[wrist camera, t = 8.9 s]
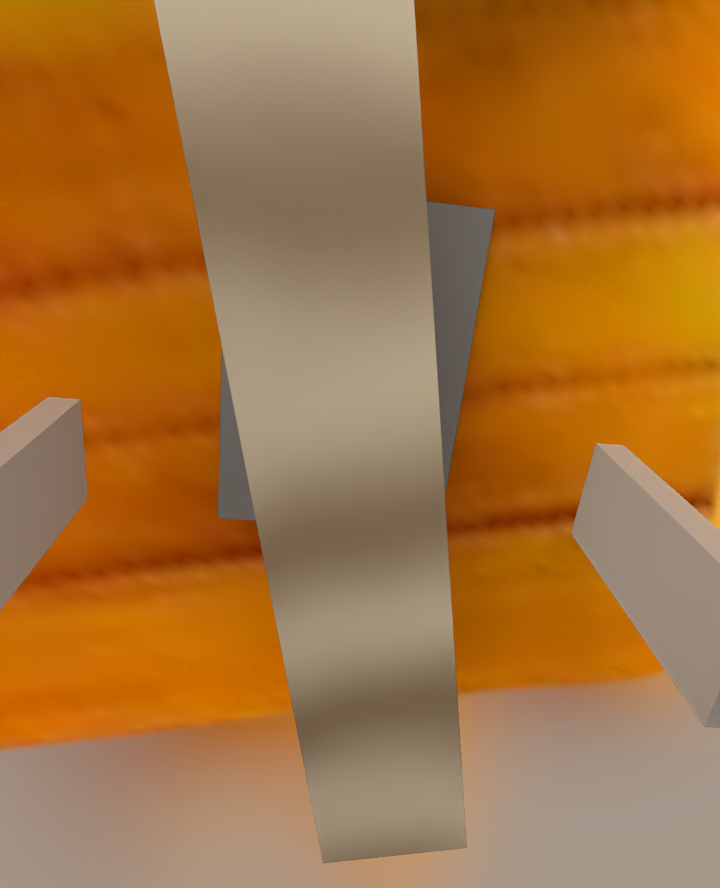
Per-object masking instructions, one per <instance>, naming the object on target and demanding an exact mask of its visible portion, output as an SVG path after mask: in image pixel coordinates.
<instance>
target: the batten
mask: <svg viewBox="0 0 720 888" xmlns="http://www.w3.org/2000/svg"><path fill="white" fill-rule="evenodd" d="M154 3H155V8H156V13H157V18H158V23H159V28H160V33H161V38H162V43H163V49H164V54H165V59H166V64H167V69H168V74H169V79H170V84H171V89H172V94H173V100H174V105H175V110H176V115H177V120H178V125H179V130H180V135H181V140H182V145H183V151H184V156H185V161H186V166H187V171H188V176H189V181H190V186H191V191H192V196H193V202H194V207H195V212H196V217H197V222H198V227H199V232H200V237H201V242H202V247H203V253H204V258H205V263H206V268H207V273H208V278H209V283H210V288H211V293H212V298H213V304H214V309H215V314H216V319H217V324H218V329H219V334H220V339H221V344H222V349H223V355H224V360H225V365H226V370H227V375H228V380H229V385H230V390H231V395H232V401H233V406H234V411H235V416H236V421H237V426H238V431H239V436H240V441H241V446H242V452H243V457H244V462H245V467H246V472H247V477H248V482H249V487H250V492H251V497H252V503H253V508H254V513H255V518H256V523H257V528H258V533H259V538H260V543H261V548H262V554H263V559H264V564H265V569H266V574H267V579H268V584H269V589H270V594H271V599H272V605H273V610H274V615H275V620H276V625H277V630H278V635H279V640H280V645H281V650H282V656H283V661H284V666H285V671H286V676H287V681H288V686H289V691H290V696H291V701H292V707H293V712H294V717H295V721H296V727H297V732H298V737H299V742H300V747H301V752H302V758H303V763H304V768H305V773H306V778H307V783H308V788H309V792H310V797H311V804H312V809H313V814H314V819H315V824H316V829H317V834H318V839H319V844H320V849H321V854H322V860H323V863H330V862H339V861H349V860H358V859H368V858H377V857H385V856H395V855H405V854H414V853H424V852H433V851H441V850H451V849H460V848H467V843H466V827H465V812H464V794H463V780H462V779H463V778H462V762H461V748H460V747H461V746H460V731H459V714H458V698H457V682H456V666H455V650H454V634H453V618H452V602H451V586H450V570H449V553H448V537H447V521H446V505H445V489H444V473H443V457H442V441H441V425H440V409H439V393H438V377H437V361H436V345H435V329H434V312H433V296H432V280H431V264H430V248H429V232H428V216H427V200H426V184H425V168H424V152H423V136H422V120H421V104H420V88H419V71H418V55H417V39H416V23H415V7H414V0H154Z"/></svg>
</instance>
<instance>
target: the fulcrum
mask: <svg viewBox="0 0 720 888" xmlns="http://www.w3.org/2000/svg"><path fill="white" fill-rule="evenodd" d="M494 214H495V209H487V208H479V207H470V206H461V205H453V204H444V203H435V202H427V216H428V232H429V248H430V264H431V280H432V296H433V312H434V329H435V345H436V361H437V377H438V393H439V409H440V425H441V441H442V457H443V473H444V489H445V493H446V488H447V482H448V476H449V470H450V465H451V459H452V453H453V448H454V442H455V436H456V430H457V425H458V419H459V413H460V408H461V402H462V396H463V391H464V385H465V379H466V373H467V368H468V362H469V356H470V351H471V345H472V339H473V333H474V328H475V322H476V316H477V311H478V305H479V299H480V294H481V288H482V282H483V276H484V271H485V265H486V259H487V254H488V248H489V242H490V236H491V231H492V225H493V219H494ZM218 518H227V519H241V520H254V521H256V518H255V513H254V508H253V503H252V497H251V492H250V487H249V482H248V477H247V472H246V467H245V462H244V457H243V452H242V446H241V441H240V436H239V431H238V426H237V421H236V416H235V411H234V406H233V401H232V395H231V390H230V385H229V380H228V375H227V370H226V365H225V360H224V355H223V349H222V363H221V408H220V453H219V498H218Z"/></svg>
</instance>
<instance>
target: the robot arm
mask: <svg viewBox="0 0 720 888" xmlns="http://www.w3.org/2000/svg"><path fill="white" fill-rule="evenodd" d="M87 499H88V495H87V481H86V468H85V454H84V440H83V427H82V413H81V399H71V398H59V397H47V398H46V399H44V400H43V401H42V402H40V403H39V404H38V405H36V406H35V407H33V408H32V409H31V410H29V411H28V412H27V413H25V414H24V415H23V416H21V417H20V418H19V419H17V420H16V421H15V422H13V423H12V424H10V425H9V426H8V427H6V428H5V429H4V430H2V431H1V432H0V610H1V609H2V608H3V606H4V605H5V604H6V603H7V601H8V600H9V599H10V597H11V596H12V595H13V594H14V592H15V591H16V590H17V589H18V587H19V586H20V585H21V583H22V582H23V581H24V580H25V578H26V577H27V576H28V574H29V573H30V572H31V571H32V569H33V568H34V567H35V566H36V564H37V563H38V562H39V560H40V559H41V558H42V557H43V555H44V554H45V553H46V551H47V550H48V549H49V548H50V546H51V545H52V544H53V543H54V541H55V540H56V539H57V537H58V536H59V535H60V534H61V532H62V531H63V530H64V528H65V527H66V526H67V525H68V523H69V522H70V521H71V520H72V518H73V517H74V516H75V514H76V513H77V512H78V511H79V509H80V508H81V507H82V505H83V504H84V503H85V502H86V500H87ZM571 534H572V536H573V537H574V539H575V540H576V542H577V543H578V544H579V546H580V547H581V549H582V550H583V552H584V553H585V555H586V556H587V558H588V559H589V560H590V562H591V563H592V565H593V566H594V568H595V569H596V571H597V572H598V574H599V575H600V576H601V578H602V579H603V581H604V582H605V584H606V585H607V587H608V588H609V590H610V591H611V592H612V594H613V595H614V597H615V598H616V600H617V601H618V603H619V604H620V606H621V607H622V608H623V610H624V611H625V613H626V614H627V616H628V617H629V619H630V620H631V621H632V623H633V624H634V626H635V627H636V629H637V630H638V632H639V633H640V635H641V636H642V637H643V639H644V640H645V642H646V643H647V645H648V646H649V648H650V649H651V651H652V652H653V653H654V655H655V656H656V658H657V659H658V661H659V662H660V664H661V665H662V667H663V668H664V669H665V671H666V672H667V674H668V675H669V677H670V678H671V680H672V681H673V683H674V684H675V685H676V687H677V688H678V690H679V691H680V692H681V694H682V695H683V697H684V698H685V700H686V701H687V703H688V704H689V706H690V707H691V709H692V710H693V712H694V713H695V715H696V716H697V717H698V719H699V720H700V722H701V723H702V725H703V726H704V727H714V728H720V530H719V529H718V528H717V527H716V526H714V525H713V524H712V523H711V522H710V521H709V520H708V519H707V518H705V517H704V516H703V515H702V514H701V513H700V512H699V511H698V510H696V509H695V508H694V507H693V506H692V505H691V504H690V503H689V502H687V501H686V500H685V499H684V498H683V497H682V496H681V495H679V494H678V493H677V492H676V491H675V490H674V489H673V488H672V487H670V486H669V485H668V484H667V483H666V482H665V481H664V480H663V479H661V478H660V477H659V476H658V475H657V474H656V473H655V472H654V471H652V470H651V469H650V468H649V467H648V466H647V465H646V464H645V463H643V462H642V461H641V460H640V459H639V458H638V457H637V456H636V455H634V454H633V453H632V452H631V451H630V450H629V449H628V448H627V447H625V446H624V445H614V444H603V443H596V445H595V448H594V452H593V456H592V459H591V463H590V467H589V470H588V474H587V477H586V481H585V485H584V488H583V492H582V496H581V499H580V503H579V507H578V510H577V514H576V517H575V521H574V525H573V528H572V532H571Z"/></svg>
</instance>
